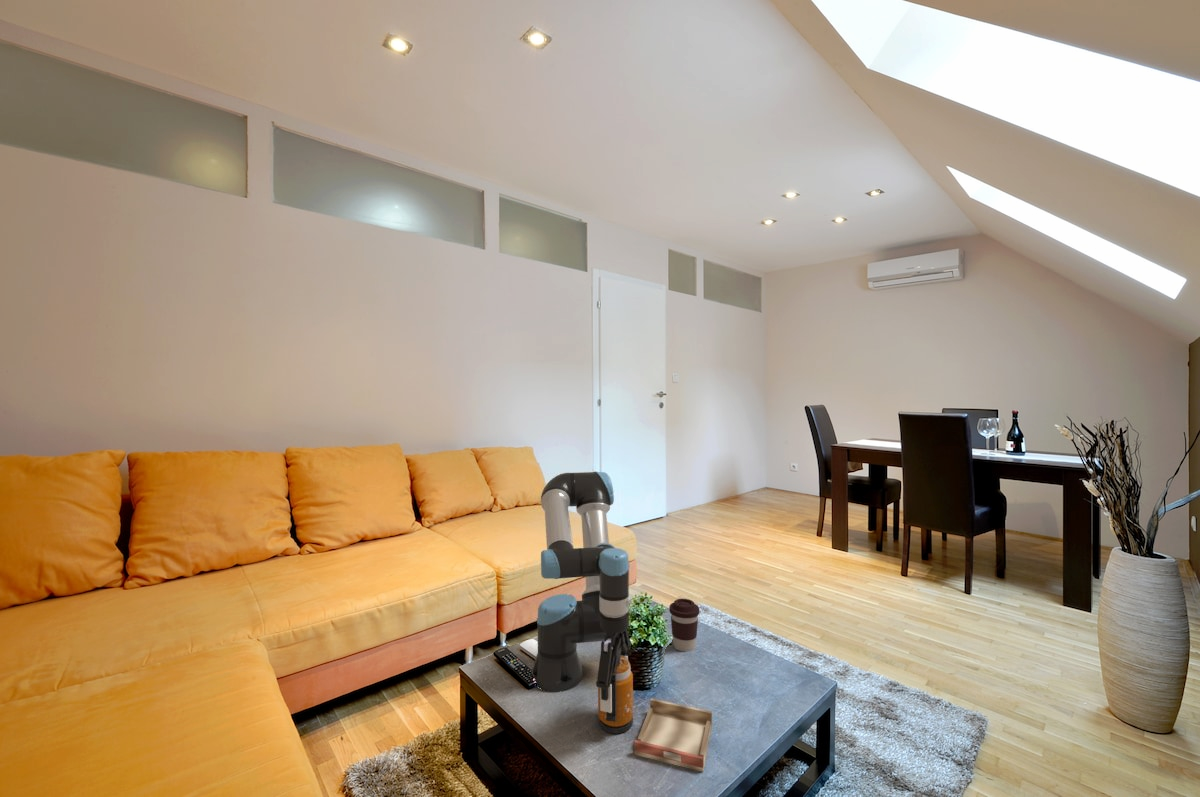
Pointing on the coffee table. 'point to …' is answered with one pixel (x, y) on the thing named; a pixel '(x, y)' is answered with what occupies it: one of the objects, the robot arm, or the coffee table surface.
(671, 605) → the coffee cup
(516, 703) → the coffee table surface
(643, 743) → the wooden serving tray
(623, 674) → the canister
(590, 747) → the coffee table surface
